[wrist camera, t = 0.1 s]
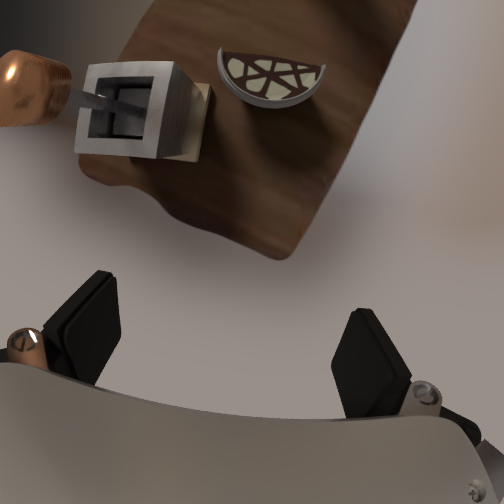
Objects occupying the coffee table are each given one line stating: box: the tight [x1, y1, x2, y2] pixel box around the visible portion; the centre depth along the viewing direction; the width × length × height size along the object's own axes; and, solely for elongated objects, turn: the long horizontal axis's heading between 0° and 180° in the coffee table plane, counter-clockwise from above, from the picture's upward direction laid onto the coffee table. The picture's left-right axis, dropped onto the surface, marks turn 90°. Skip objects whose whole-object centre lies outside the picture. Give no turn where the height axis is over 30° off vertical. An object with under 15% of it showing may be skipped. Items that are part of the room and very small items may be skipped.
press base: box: [140, 83, 212, 162], centre depth 35 cm, size 11×11×2 cm
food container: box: [217, 48, 326, 108], centre depth 30 cm, size 12×6×10 cm, turn 82°
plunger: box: [0, 50, 152, 136], centre depth 16 cm, size 5×5×20 cm
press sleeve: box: [73, 61, 201, 159], centre depth 27 cm, size 9×12×14 cm
